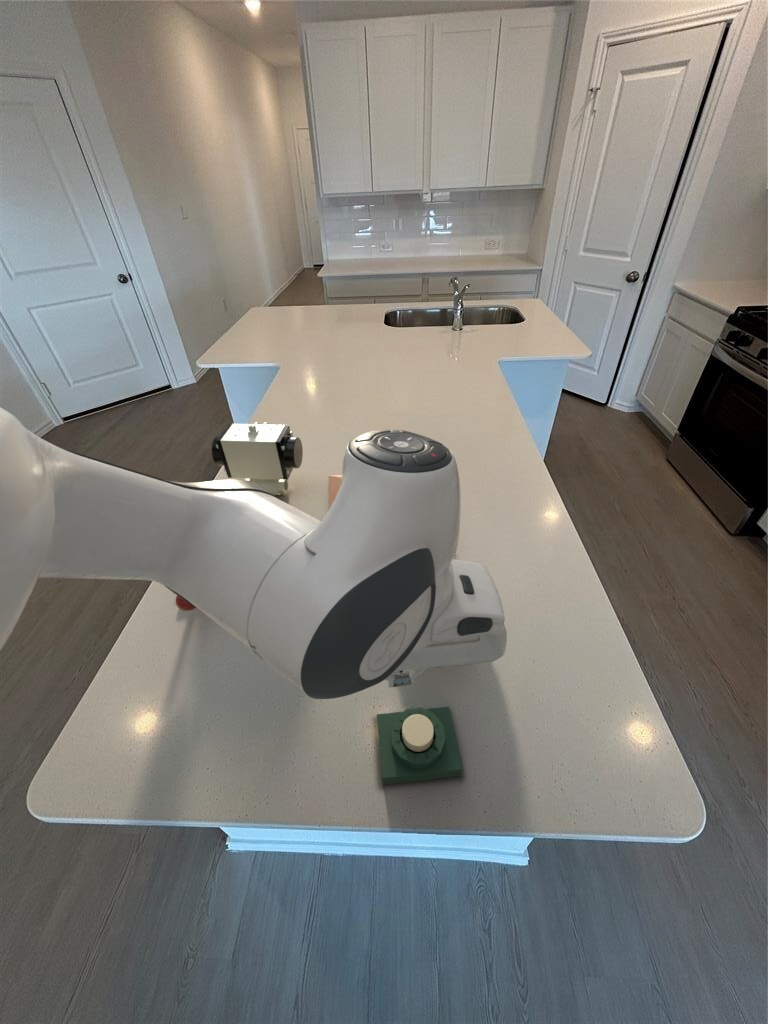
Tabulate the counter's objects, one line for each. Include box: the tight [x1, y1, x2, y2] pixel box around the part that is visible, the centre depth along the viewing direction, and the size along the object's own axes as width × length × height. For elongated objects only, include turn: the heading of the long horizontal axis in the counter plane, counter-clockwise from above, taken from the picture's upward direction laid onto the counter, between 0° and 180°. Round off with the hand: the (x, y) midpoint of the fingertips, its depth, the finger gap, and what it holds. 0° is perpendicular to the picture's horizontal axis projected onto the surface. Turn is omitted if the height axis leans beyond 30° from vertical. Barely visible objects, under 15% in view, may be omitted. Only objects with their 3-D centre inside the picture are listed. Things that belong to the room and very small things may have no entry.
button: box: [402, 714, 434, 752], centre depth 56 cm, size 4×4×2 cm
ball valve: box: [211, 421, 304, 496], centre depth 98 cm, size 18×8×18 cm, turn 84°
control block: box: [376, 706, 463, 786], centre depth 57 cm, size 10×8×4 cm
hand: (401, 680), depth 48 cm, fingers closed
